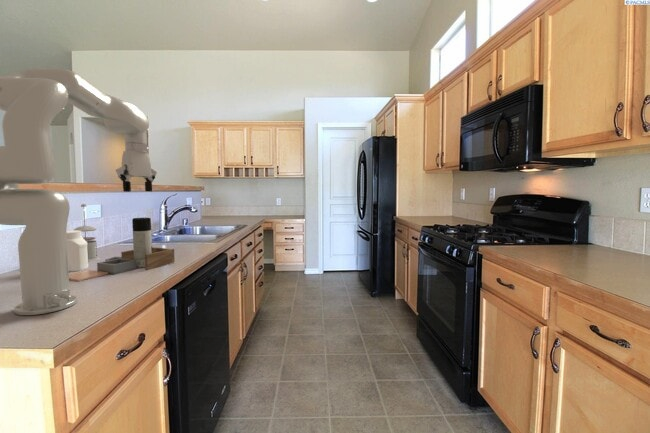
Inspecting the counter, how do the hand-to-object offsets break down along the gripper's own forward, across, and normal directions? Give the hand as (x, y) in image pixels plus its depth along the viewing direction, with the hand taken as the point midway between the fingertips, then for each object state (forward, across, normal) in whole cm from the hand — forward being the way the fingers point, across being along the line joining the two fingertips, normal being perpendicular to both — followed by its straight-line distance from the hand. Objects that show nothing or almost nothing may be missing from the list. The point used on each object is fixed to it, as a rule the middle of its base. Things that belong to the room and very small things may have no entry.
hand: (138, 191), depth 125 cm
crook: (+31, -4, -14) cm, 34 cm away
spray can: (+31, 0, +1) cm, 31 cm away
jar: (+31, +14, -21) cm, 40 cm away
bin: (+31, +9, -3) cm, 32 cm away
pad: (+31, +19, -6) cm, 36 cm away
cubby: (+31, -3, +1) cm, 31 cm away
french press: (+31, +1, -32) cm, 45 cm away
